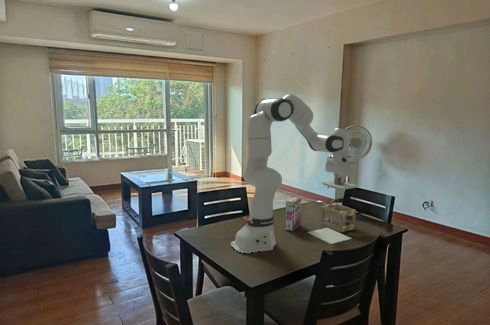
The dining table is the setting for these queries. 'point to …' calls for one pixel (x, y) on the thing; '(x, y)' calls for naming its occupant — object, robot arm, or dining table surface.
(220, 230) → the dining table surface
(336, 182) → the lid
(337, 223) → the medicine box
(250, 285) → the dining table surface
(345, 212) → the crate
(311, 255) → the dining table surface
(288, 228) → the candy bar box
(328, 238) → the mat
